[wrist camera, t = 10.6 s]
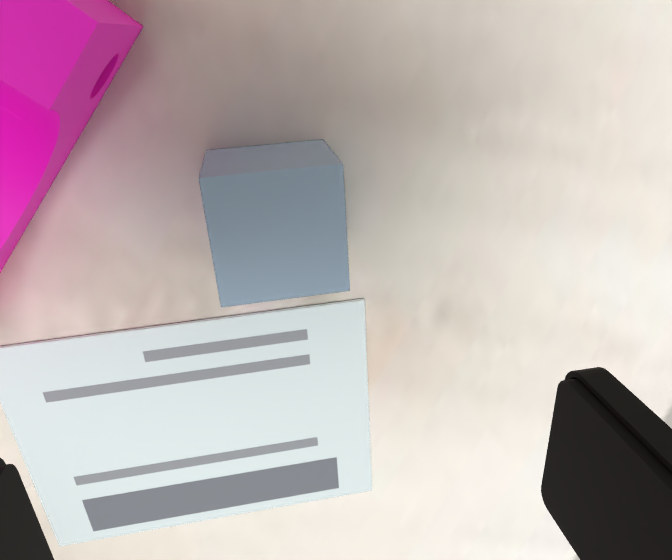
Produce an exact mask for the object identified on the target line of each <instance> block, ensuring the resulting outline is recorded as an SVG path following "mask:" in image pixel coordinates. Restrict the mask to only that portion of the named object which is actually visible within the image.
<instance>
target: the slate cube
mask: <svg viewBox="0 0 672 560" xmlns="http://www.w3.org/2000/svg"><path fill="white" fill-rule="evenodd" d="M199 183H200V189H201V195H202V200H203V206H204V212H205V218H206V223H207V229H208V235H209V241H210V246H211V252H212V258H213V264H214V270H215V275H216V281H217V287H218V293H219V298H220V304H221V307H228V306H236V305H243V304H251V303H259V302H267V301H274V300H282V299H290V298H298V297H305V296H313V295H321V294H329V293H336V292H344V291H350V282H349V264H348V245H347V227H346V208H345V190H344V171H343V163H342V162H341V161H340V159H339V158H338V157H337V156H336V155H335V153H334V152H333V151H332V150H331V148H330V147H329V146H328V145H327V144H326V142H325V141H324V140H323V139H321V140H310V141H300V142H289V143H278V144H267V145H256V146H246V147H235V148H224V149H213V150H206V153H205V157H204V161H203V164H202V168H201V171H200V175H199Z"/></svg>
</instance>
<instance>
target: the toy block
mask: <svg viewBox="0 0 672 560" xmlns="http://www.w3.org/2000/svg"><path fill="white" fill-rule="evenodd" d="M142 28H143V26H142V25H141V24H139V23H138V22H137V21H135V20H134V19H132V18H131V17H130V16H128V15H127V14H126V13H124V12H123V11H122V10H120V9H119V8H117V7H116V6H115V5H113V4H112V3H111V2H109V1H108V0H0V272H1V271H2V269H3V267H4V266H5V264H6V262H7V260H8V259H9V257H10V255H11V254H12V252H13V250H14V248H15V247H16V245H17V243H18V241H19V240H20V238H21V236H22V235H23V233H24V231H25V229H26V228H27V226H28V224H29V223H30V221H31V219H32V217H33V216H34V214H35V212H36V210H37V209H38V207H39V205H40V204H41V202H42V200H43V198H44V197H45V195H46V193H47V191H48V190H49V188H50V186H51V185H52V183H53V181H54V179H55V178H56V176H57V174H58V173H59V171H60V169H61V167H62V166H63V164H64V162H65V160H66V159H67V157H68V155H69V154H70V152H71V150H72V148H73V147H74V145H75V143H76V142H77V140H78V138H79V136H80V135H81V133H82V131H83V129H84V128H85V126H86V124H87V123H88V121H89V119H90V117H91V116H92V114H93V112H94V111H95V109H96V107H97V105H98V104H99V102H100V100H101V98H102V97H103V95H104V93H105V92H106V90H107V88H108V86H109V85H110V83H111V81H112V79H113V78H114V76H115V74H116V73H117V71H118V69H119V67H120V66H121V64H122V62H123V61H124V59H125V57H126V55H127V54H128V52H129V50H130V48H131V47H132V45H133V43H134V42H135V40H136V38H137V36H138V35H139V33H140V31H141V30H142Z"/></svg>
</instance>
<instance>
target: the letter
mask: <svg viewBox="0 0 672 560" xmlns="http://www.w3.org/2000/svg"><path fill="white" fill-rule="evenodd" d="M0 403H1V406H2V408H3V410H4V413H5V415H6V418H7V420H8V423H9V425H10V427H11V430H12V432H13V435H14V437H15V440H16V442H17V444H18V447H19V449H20V452H21V454H22V457H23V459H24V461H25V464H26V466H27V469H28V471H29V474H30V476H31V478H32V481H33V483H34V486H35V488H36V491H37V493H38V495H39V498H40V500H41V503H42V505H43V508H44V510H45V512H46V515H47V517H48V520H49V522H50V525H51V527H52V529H53V532H54V534H55V537H56V539H57V541H58V544H59V546H65V545H70V544H76V543H82V542H87V541H93V540H98V539H104V538H109V537H115V536H121V535H126V534H132V533H137V532H143V531H149V530H154V529H160V528H165V527H171V526H176V525H182V524H188V523H193V522H199V521H204V520H210V519H216V518H221V517H227V516H232V515H238V514H243V513H249V512H255V511H260V510H266V509H271V508H277V507H283V506H288V505H294V504H299V503H305V502H310V501H316V500H322V499H327V498H333V497H338V496H344V495H350V494H355V493H361V492H366V491H372V475H371V450H370V425H369V400H368V375H367V350H366V325H365V300H364V298H363V299H355V300H348V301H340V302H333V303H325V304H317V305H310V306H302V307H295V308H287V309H279V310H272V311H264V312H257V313H249V314H241V315H234V316H226V317H219V318H211V319H203V320H196V321H188V322H181V323H173V324H165V325H158V326H150V327H143V328H135V329H127V330H120V331H112V332H105V333H97V334H89V335H82V336H74V337H67V338H59V339H51V340H44V341H36V342H29V343H21V344H13V345H6V346H0Z"/></svg>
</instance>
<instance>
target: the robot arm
mask: <svg viewBox="0 0 672 560" xmlns="http://www.w3.org/2000/svg"><path fill="white" fill-rule="evenodd" d="M541 493H542V498H543V501H544V504H545V506H546V508H547V509H548V511H549V513H550V514H551V516H552V517H553V519H554V520H555V522H556V523H557V525H558V526H559V528H560V529H561V531H562V532H563V534H564V535H565V537H566V539H567V540H568V542H569V543H570V545H571V546H572V548H573V549H574V551H575V552H576V554H577V555H578V557H579V558H580V560H672V429H671V428H670V427H669V426H668V425H667V424H666V423H665V422H664V421H663V420H661V419H660V418H659V417H658V416H657V415H656V414H655V413H654V412H653V411H652V410H650V409H649V408H648V407H647V406H646V405H645V404H644V403H643V402H642V401H641V400H639V399H638V398H637V397H636V396H635V395H634V394H633V393H632V392H631V391H629V390H628V389H627V388H626V387H625V386H624V385H623V384H622V383H621V382H620V381H618V380H617V379H616V378H615V377H614V376H613V375H612V374H611V373H610V372H609V371H607V370H606V369H604V368H601V367H596V368H590V369H583V370H576V371H571V372H569V373H568V374H567V375H566V377H565V380H564V381H561V382H560V383H559V385H558V388H557V394H556V400H555V406H554V412H553V418H552V425H551V431H550V437H549V443H548V449H547V455H546V461H545V467H544V473H543V479H542V485H541ZM0 560H54V558H53V556H52V553H51V551H50V548H49V546H48V543H47V541H46V539H45V536H44V534H43V531H42V529H41V526H40V524H39V521H38V519H37V517H36V514H35V512H34V509H33V507H32V504H31V502H30V499H29V497H28V495H27V492H26V490H25V487H24V485H23V482H22V480H21V477H20V475H19V472H18V470H17V468H16V467H15V466H14V465H13V464H7V465H6V464H5V462H4V460H3V459H1V458H0Z"/></svg>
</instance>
